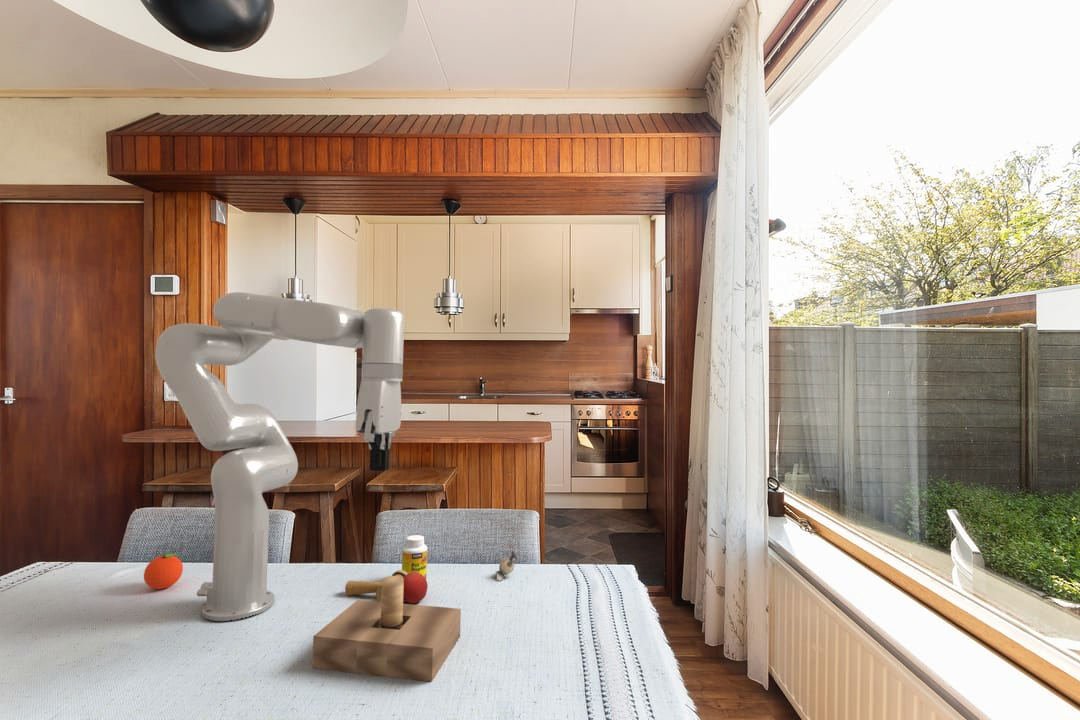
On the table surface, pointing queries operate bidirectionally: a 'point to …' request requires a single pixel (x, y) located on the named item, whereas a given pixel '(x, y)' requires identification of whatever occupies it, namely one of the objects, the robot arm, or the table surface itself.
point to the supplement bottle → (415, 555)
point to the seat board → (388, 641)
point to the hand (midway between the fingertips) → (379, 469)
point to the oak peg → (392, 602)
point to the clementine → (163, 571)
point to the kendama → (411, 592)
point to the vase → (506, 566)
